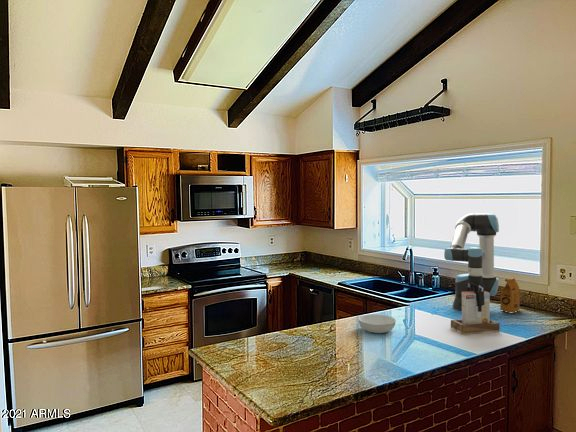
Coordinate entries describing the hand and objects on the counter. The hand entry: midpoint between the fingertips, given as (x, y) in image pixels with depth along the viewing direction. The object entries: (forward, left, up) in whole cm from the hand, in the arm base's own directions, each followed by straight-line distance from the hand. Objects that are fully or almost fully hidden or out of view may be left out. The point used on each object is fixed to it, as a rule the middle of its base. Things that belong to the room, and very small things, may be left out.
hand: (474, 315), depth 255 cm
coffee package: (-48, -32, -9) cm, 58 cm away
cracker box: (0, 0, -8) cm, 8 cm away
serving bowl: (+54, -12, -9) cm, 56 cm away
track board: (0, 0, -8) cm, 8 cm away
